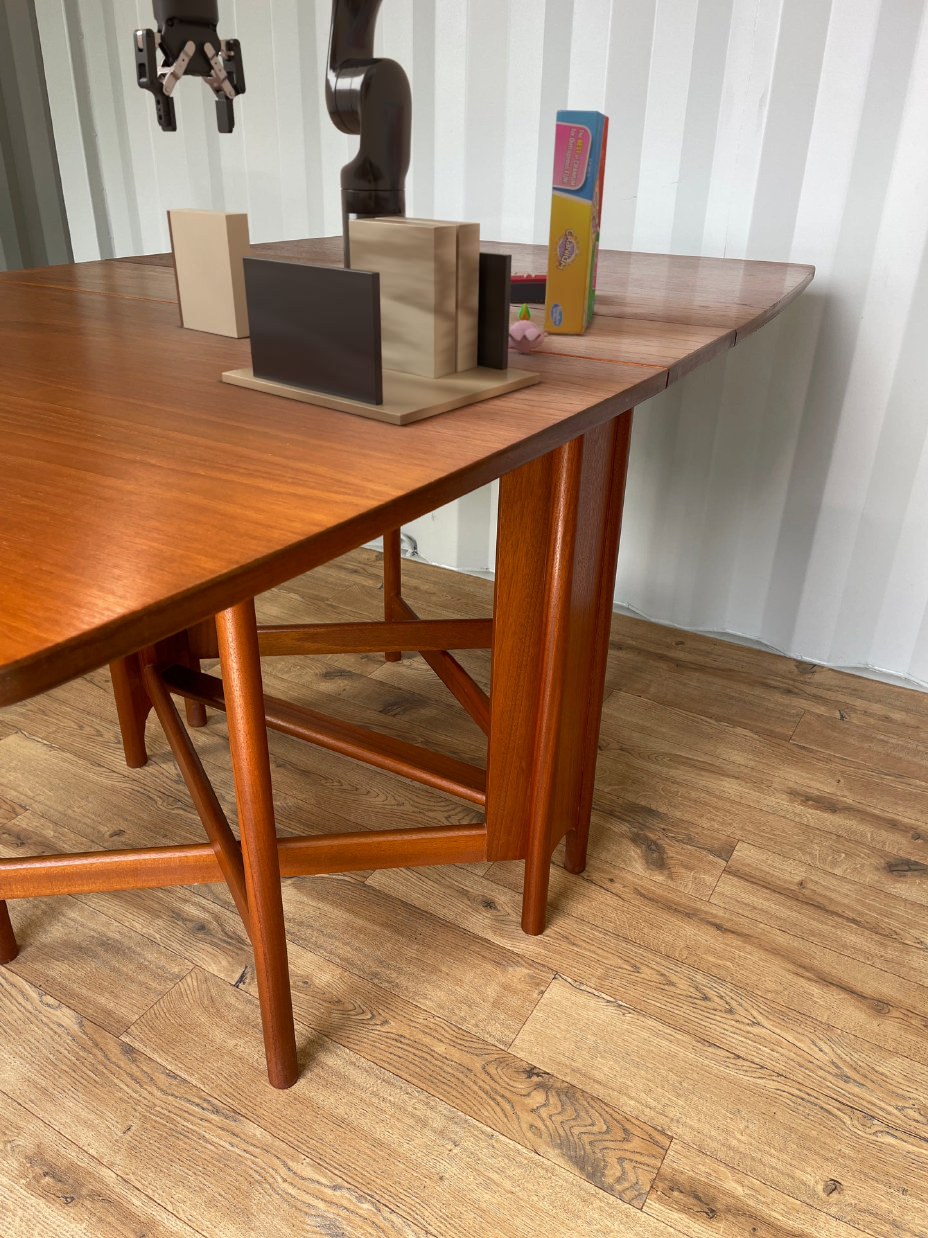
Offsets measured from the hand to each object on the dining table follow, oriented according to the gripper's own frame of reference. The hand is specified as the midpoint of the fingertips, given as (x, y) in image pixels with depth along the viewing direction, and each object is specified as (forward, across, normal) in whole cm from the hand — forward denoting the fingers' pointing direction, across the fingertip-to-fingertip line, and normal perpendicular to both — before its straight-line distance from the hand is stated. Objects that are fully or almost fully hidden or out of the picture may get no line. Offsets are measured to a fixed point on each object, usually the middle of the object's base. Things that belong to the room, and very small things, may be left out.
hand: (198, 132), depth 114 cm
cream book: (+24, 0, 0) cm, 24 cm away
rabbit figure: (+24, +17, -39) cm, 49 cm away
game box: (+24, +39, -32) cm, 56 cm away
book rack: (+24, -7, -37) cm, 45 cm away
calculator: (+24, +55, -16) cm, 62 cm away
